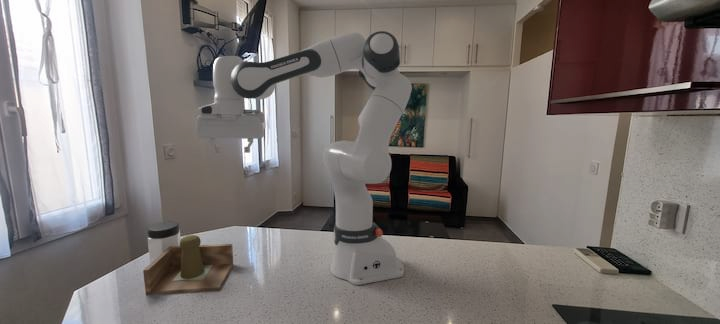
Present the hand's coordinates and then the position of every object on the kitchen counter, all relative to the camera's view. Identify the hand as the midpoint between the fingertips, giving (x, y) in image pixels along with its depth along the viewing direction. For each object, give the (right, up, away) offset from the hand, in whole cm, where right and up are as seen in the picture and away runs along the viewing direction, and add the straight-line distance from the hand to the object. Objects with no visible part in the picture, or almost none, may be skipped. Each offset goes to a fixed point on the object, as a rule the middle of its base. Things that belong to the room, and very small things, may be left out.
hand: (232, 152), depth 97 cm
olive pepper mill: (-7, -35, -11) cm, 37 cm away
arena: (-6, -36, -12) cm, 38 cm away
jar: (-20, -35, -2) cm, 40 cm away
